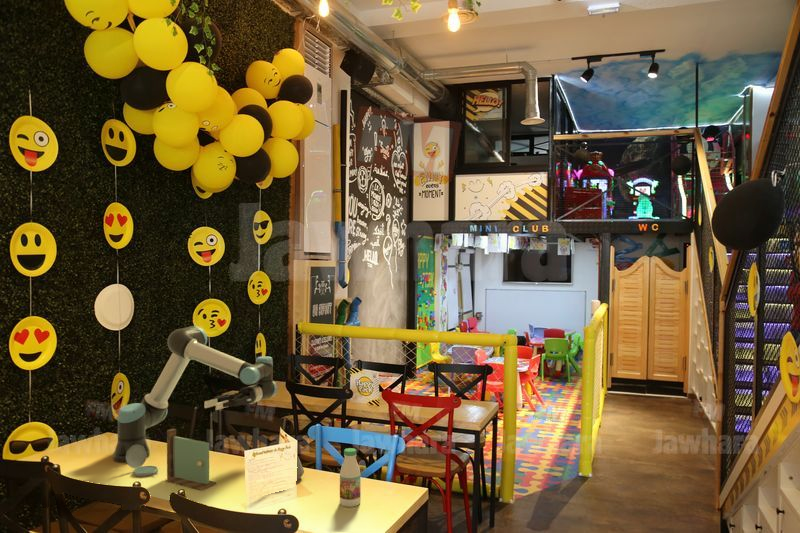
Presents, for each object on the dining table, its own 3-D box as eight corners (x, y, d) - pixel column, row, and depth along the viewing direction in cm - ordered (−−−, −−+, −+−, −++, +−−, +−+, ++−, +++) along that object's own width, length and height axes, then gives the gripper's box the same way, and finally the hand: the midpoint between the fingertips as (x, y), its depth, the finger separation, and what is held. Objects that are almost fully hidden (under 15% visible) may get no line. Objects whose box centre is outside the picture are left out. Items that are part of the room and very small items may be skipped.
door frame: (162, 480, 247) (162, 431, 247) (177, 474, 254) (177, 427, 254) (201, 490, 237) (201, 439, 236) (216, 484, 244) (216, 434, 243)
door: (168, 477, 247) (168, 438, 247) (175, 474, 250) (175, 436, 250) (202, 485, 238) (202, 445, 238) (209, 482, 241) (209, 442, 241)
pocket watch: (144, 441, 264) (166, 447, 256) (144, 466, 264) (166, 473, 257) (123, 447, 256) (145, 453, 248) (123, 473, 256) (145, 480, 248)
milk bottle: (339, 499, 228) (339, 446, 228) (360, 498, 229) (360, 446, 228) (339, 507, 220) (339, 453, 220) (360, 507, 221) (360, 452, 221)
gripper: (265, 405, 266) (227, 417, 246) (234, 400, 275) (194, 412, 255) (265, 388, 266) (227, 399, 246) (234, 384, 275) (194, 394, 255)
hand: (210, 405), depth 250 cm, fingers open, 6 cm apart
